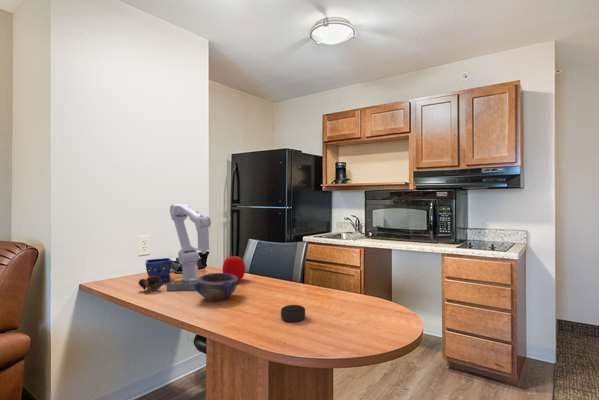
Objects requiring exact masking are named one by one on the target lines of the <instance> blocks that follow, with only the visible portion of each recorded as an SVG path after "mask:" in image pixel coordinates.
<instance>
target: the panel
mask: <svg viewBox="0 0 599 400" xmlns="http://www.w3.org/2000/svg"><path fill="white" fill-rule="evenodd" d="M166 291H169V292H170V291H171V292H172V291H173V292H174V291H176V292H177V291H178V292H179V291H185V292H186V291H196V290H195V288H194V284H189V281H184V283H183V284H176V282H175V280H173V281H171V282H169V283H167V284H166Z"/></svg>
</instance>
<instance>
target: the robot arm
mask: <svg viewBox="0 0 599 400" xmlns="http://www.w3.org/2000/svg"><path fill="white" fill-rule="evenodd" d="M169 214H170V218H171V221H173V223H174V226H175V231H176V232H177V237H178V240H179V244H180V247H181V249H180V250H179V251H178V253H177V256H178V263H179V264H180V265H181V266H182V267H181V268H182V271H181V272H182V278H184V281H189V279H191V278H199V277H200V276H199V266H198V261H199V260H200V263H201V266H202V267H204V266H205V267H206V266H207V264H208V258H209V255H210V231H209V230H210V229H209V228H210V227H211V225H212V221H211V219H210V217H209V216H204V215H203V214H201V213H200V212H199V210H195V211H194V210H193V209H191V205H190V204H188V203H177V204H176V203H172V204H170V206H169ZM187 219H189V220H190V221H191V222H192V223H194V226H195V229H196V230H195V231H196V232H197V248H195V247H194V246H193V245H192V244H191V242H190V238H189V235H188V231H187V227H186V224H185V221H186V220H187ZM197 251H198V252H197Z"/></svg>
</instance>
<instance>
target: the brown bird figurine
mask: <svg viewBox="0 0 599 400" xmlns="http://www.w3.org/2000/svg"><path fill="white" fill-rule="evenodd" d="M158 279H159V280H160V282H159V283H156V281H157V280H158ZM138 285H139V287H141V288H142V289H143V290H146V293H147V294H150V293H151V292H155V291H157V290H159V289H160V288H161V287H162V286H164V282H162V280H161V278H160V277H158V276H150V277H149V276H147V278H146V279H145V278H141V279H139V280H138Z"/></svg>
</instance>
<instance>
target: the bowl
mask: <svg viewBox="0 0 599 400" xmlns="http://www.w3.org/2000/svg"><path fill="white" fill-rule="evenodd" d="M198 277H199V278H198V279H197V281H196V282H195V283H194V288H195V290H194V291H196V292H197V293H198V294H199V295H200V296H201V297H202V298H204V299H205V300H206V301H210V302H217V301H222V300H224V299H227V298H228V297H230V296H231V295H232V294H233V293H234V292H235V290H236V289H237V286H238V285H239V284H240V283H241V280H239V278H238V277H237V276H235V275H231V274H226V273H223V272H210V273H206V274H203V275H201V276H198Z"/></svg>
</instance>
